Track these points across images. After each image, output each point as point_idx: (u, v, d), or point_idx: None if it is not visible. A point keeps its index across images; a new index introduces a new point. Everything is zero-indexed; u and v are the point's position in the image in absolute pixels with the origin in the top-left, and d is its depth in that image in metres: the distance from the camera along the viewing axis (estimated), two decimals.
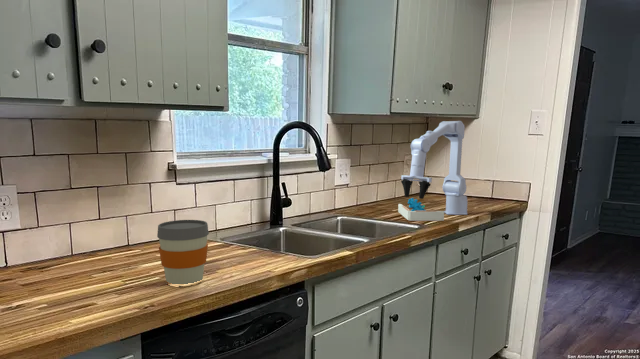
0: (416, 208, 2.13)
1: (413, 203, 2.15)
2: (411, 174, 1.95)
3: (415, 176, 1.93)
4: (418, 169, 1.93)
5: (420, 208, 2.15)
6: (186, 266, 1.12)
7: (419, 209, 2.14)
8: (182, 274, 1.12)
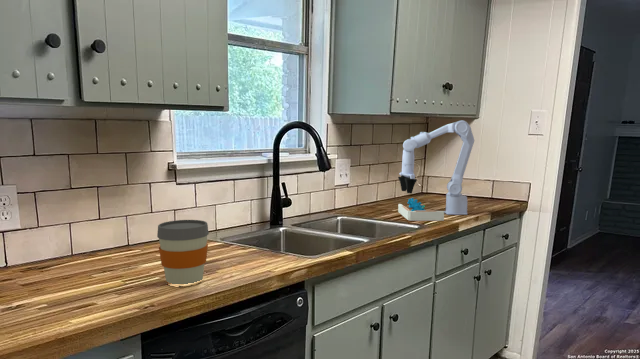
0: (416, 208, 2.13)
1: (413, 203, 2.15)
2: None
3: (403, 173, 2.19)
4: (405, 167, 2.18)
5: (420, 208, 2.15)
6: (186, 266, 1.12)
7: (419, 209, 2.14)
8: (182, 274, 1.12)
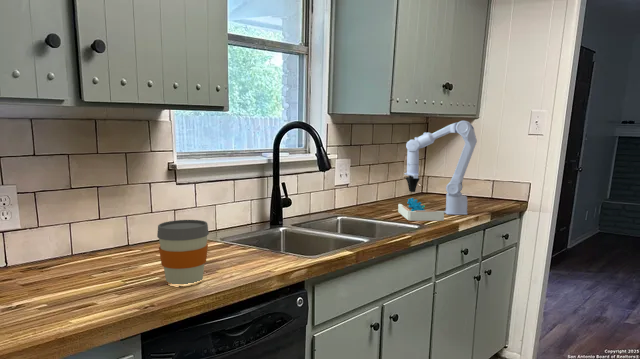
0: (416, 208, 2.13)
1: (413, 203, 2.15)
2: None
3: (407, 173, 2.23)
4: (409, 167, 2.22)
5: (420, 208, 2.15)
6: (186, 266, 1.12)
7: (419, 209, 2.14)
8: (182, 274, 1.12)
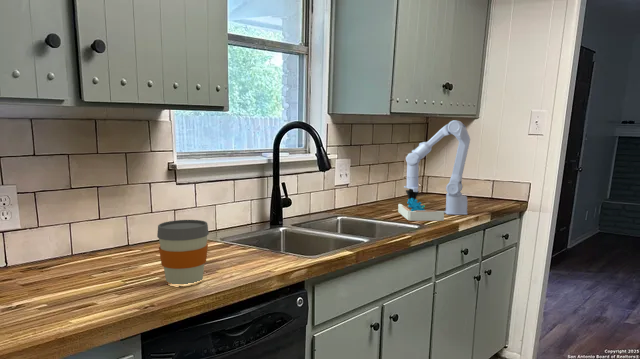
0: (415, 208, 2.13)
1: (413, 203, 2.15)
2: (406, 184, 2.26)
3: (407, 186, 2.24)
4: (409, 180, 2.23)
5: (420, 208, 2.15)
6: (186, 266, 1.12)
7: (418, 209, 2.14)
8: (182, 274, 1.12)
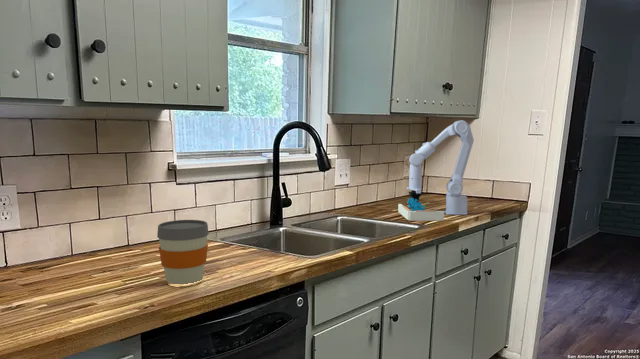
0: (416, 208, 2.13)
1: (413, 203, 2.14)
2: (409, 186, 2.20)
3: (410, 188, 2.18)
4: (412, 181, 2.17)
5: (420, 208, 2.14)
6: (186, 266, 1.12)
7: (419, 209, 2.13)
8: (182, 274, 1.12)
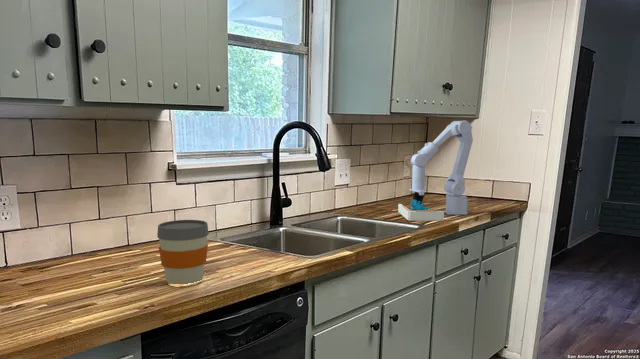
0: (419, 210, 2.07)
1: (416, 205, 2.08)
2: (412, 187, 2.14)
3: (413, 189, 2.12)
4: (415, 183, 2.11)
5: (423, 210, 2.08)
6: (186, 266, 1.12)
7: None
8: (182, 274, 1.12)
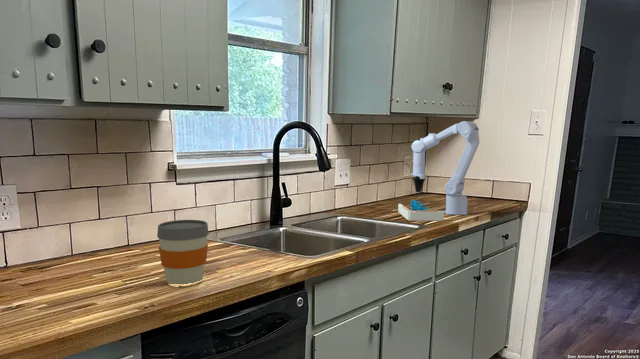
0: (418, 210, 2.07)
1: (416, 205, 2.08)
2: (413, 172, 2.28)
3: (414, 174, 2.26)
4: (415, 168, 2.25)
5: (423, 210, 2.08)
6: (186, 266, 1.12)
7: None
8: (182, 274, 1.12)
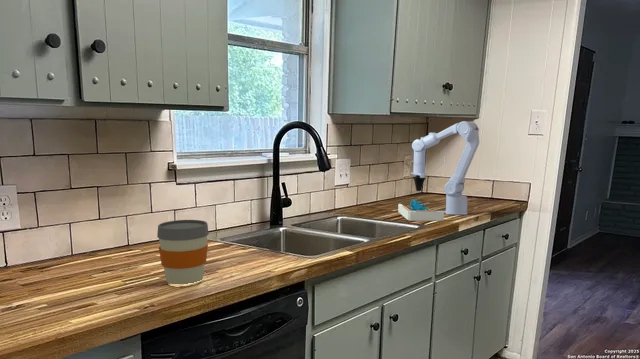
0: (418, 210, 2.07)
1: (415, 205, 2.09)
2: (413, 171, 2.28)
3: (414, 173, 2.26)
4: (416, 167, 2.25)
5: (423, 210, 2.08)
6: (186, 266, 1.12)
7: None
8: (182, 274, 1.12)
